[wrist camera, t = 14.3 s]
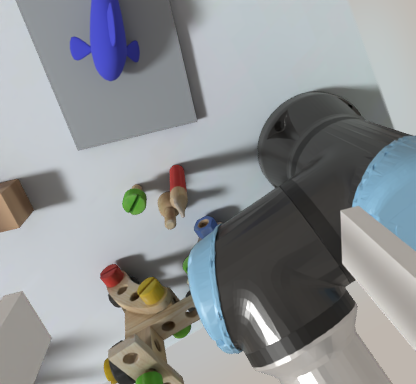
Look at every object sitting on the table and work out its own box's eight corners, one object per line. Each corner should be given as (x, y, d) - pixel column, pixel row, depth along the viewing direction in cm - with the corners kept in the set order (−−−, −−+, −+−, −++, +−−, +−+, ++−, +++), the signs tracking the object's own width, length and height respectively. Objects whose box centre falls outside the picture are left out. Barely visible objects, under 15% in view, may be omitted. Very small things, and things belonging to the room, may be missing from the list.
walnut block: (18, 178, 42) (0, 193, 38) (34, 210, 44) (19, 227, 40) (-19, 186, 42) (-41, 203, 38) (-1, 218, 44) (-20, 236, 40)
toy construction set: (83, 169, 43) (20, 260, 24) (242, 158, 45) (297, 234, 26) (113, 314, 54) (85, 453, 35) (239, 300, 56) (276, 423, 38)
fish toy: (137, 79, 39) (154, 85, 33) (72, 78, 36) (79, 85, 30) (131, -71, 33) (150, -94, 27) (51, -88, 30) (55, -118, 24)
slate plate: (154, -63, 33) (153, -67, 32) (196, 119, 42) (197, 121, 41) (7, -29, 33) (2, -32, 32) (80, 148, 41) (78, 150, 40)
